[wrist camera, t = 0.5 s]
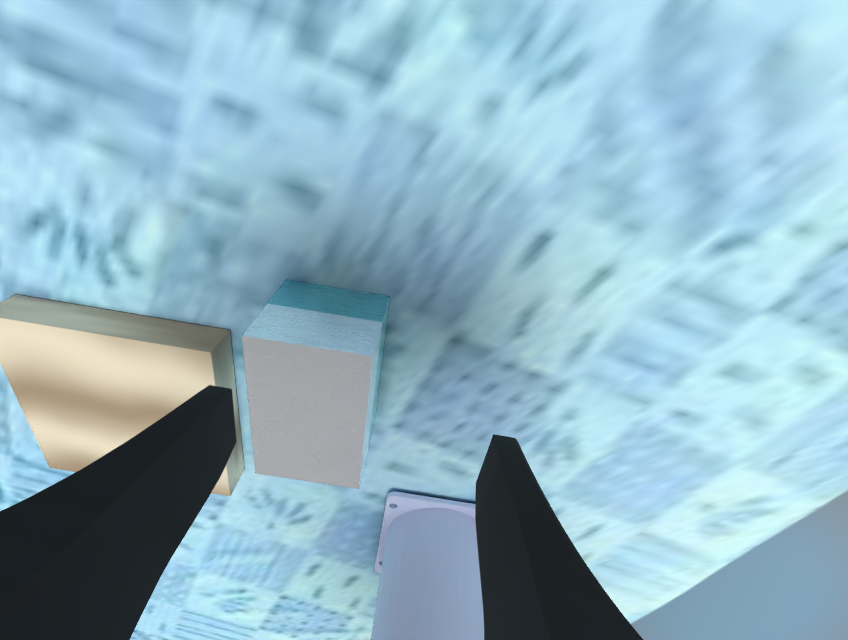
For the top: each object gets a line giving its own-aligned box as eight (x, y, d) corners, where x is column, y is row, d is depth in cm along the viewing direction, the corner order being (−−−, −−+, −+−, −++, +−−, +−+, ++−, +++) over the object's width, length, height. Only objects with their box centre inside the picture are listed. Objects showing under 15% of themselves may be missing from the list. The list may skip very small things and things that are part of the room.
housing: (376, 414, 24) (359, 488, 20) (290, 401, 24) (255, 473, 20) (390, 294, 20) (372, 356, 16) (287, 278, 20) (241, 335, 16)
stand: (244, 469, 27) (230, 496, 26) (75, 442, 27) (49, 467, 25) (230, 330, 22) (210, 352, 20) (15, 294, 21) (-23, 314, 20)
